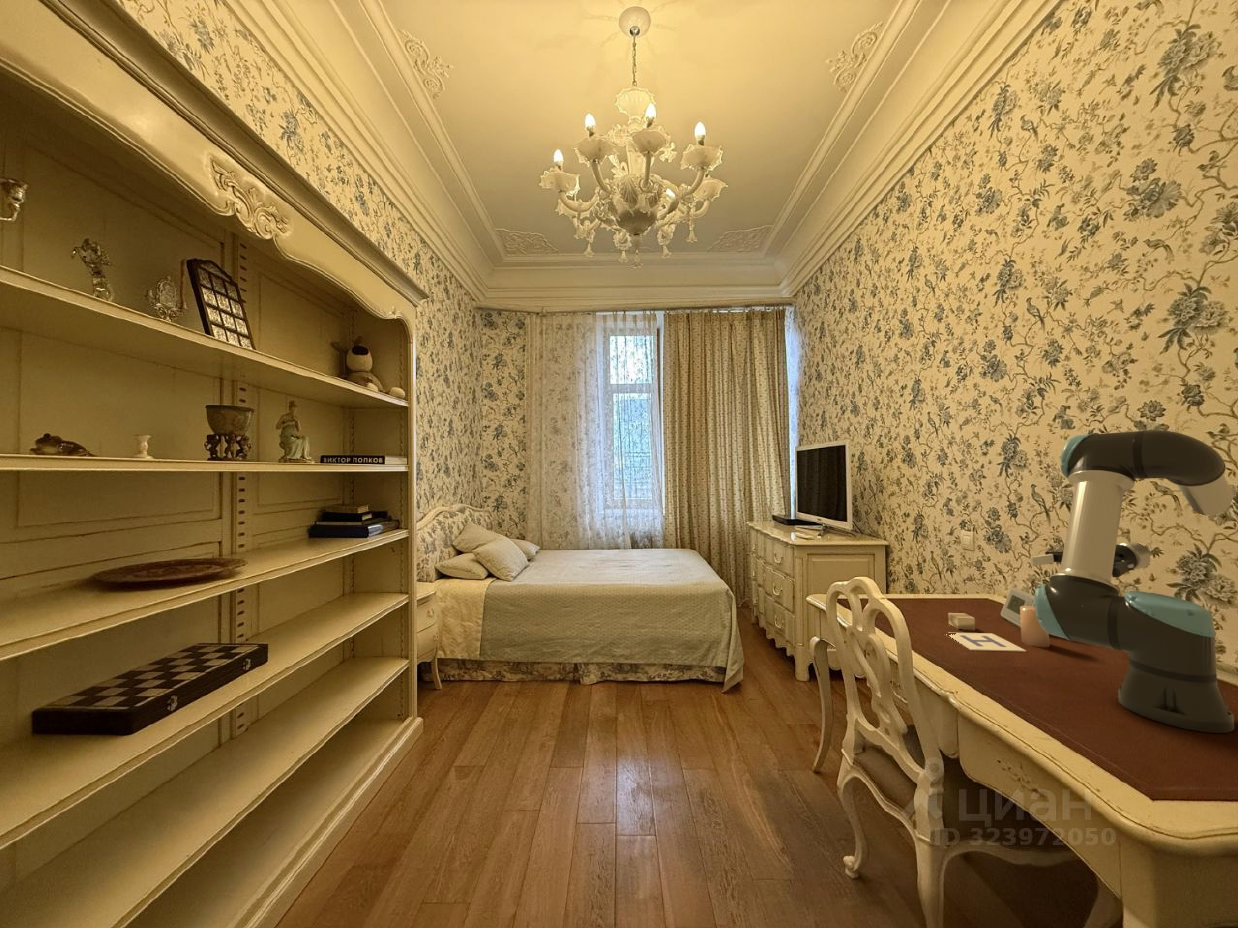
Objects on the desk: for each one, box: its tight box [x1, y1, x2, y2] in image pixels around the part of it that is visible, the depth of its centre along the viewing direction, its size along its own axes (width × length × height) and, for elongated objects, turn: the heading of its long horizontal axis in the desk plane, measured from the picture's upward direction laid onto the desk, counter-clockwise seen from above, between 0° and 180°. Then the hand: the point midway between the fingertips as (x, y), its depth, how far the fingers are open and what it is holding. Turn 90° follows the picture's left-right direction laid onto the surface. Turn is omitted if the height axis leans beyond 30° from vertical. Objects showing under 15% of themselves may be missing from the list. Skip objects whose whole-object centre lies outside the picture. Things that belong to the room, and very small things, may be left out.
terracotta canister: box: [1020, 606, 1050, 648], centre depth 134 cm, size 6×6×10 cm
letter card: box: [945, 632, 1027, 653], centre depth 136 cm, size 14×14×1 cm
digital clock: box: [1000, 587, 1035, 629], centre depth 150 cm, size 16×9×11 cm, turn 152°
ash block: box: [947, 612, 976, 631], centre depth 149 cm, size 5×5×4 cm
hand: (1052, 567), depth 134 cm, fingers open, 13 cm apart
